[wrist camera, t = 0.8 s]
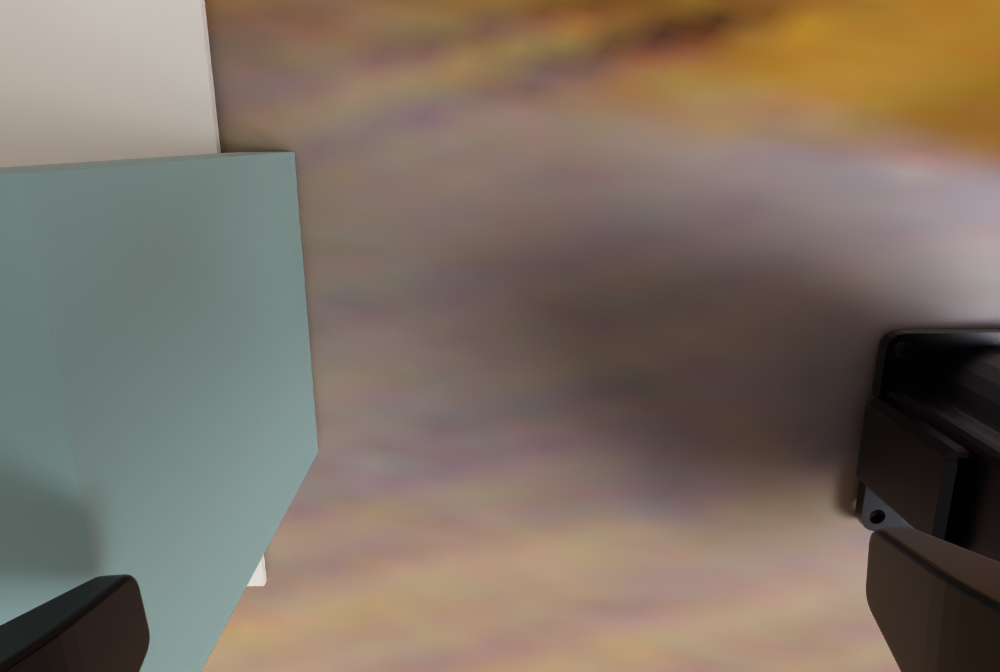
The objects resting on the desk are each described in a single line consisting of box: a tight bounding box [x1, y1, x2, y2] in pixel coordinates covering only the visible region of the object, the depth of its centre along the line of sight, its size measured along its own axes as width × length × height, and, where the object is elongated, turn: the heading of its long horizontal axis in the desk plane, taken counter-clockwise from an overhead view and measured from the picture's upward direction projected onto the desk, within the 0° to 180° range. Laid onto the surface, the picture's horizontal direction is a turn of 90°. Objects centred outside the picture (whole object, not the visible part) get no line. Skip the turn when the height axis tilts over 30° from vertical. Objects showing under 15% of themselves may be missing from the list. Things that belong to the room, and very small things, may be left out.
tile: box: [0, 152, 318, 672], centre depth 15 cm, size 2×9×12 cm, turn 0°
